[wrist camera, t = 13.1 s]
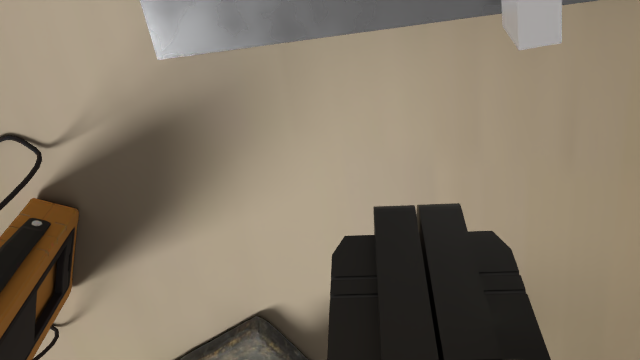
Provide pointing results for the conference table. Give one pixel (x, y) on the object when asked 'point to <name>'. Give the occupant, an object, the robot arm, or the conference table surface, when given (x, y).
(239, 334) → the embossing press
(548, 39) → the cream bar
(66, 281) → the multimeter
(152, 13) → the levelling base
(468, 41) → the conference table surface
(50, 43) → the conference table surface
